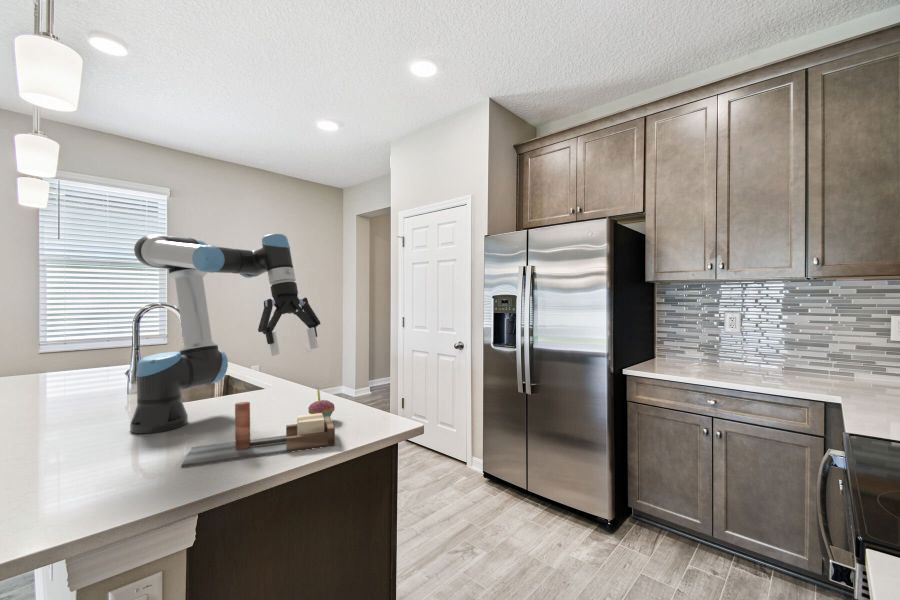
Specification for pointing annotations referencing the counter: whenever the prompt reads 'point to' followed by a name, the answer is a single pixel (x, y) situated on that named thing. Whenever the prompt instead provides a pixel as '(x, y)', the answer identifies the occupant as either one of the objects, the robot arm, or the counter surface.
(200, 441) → the counter surface
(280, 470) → the counter surface
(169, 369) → the robot arm
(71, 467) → the counter surface
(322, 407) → the cupcake
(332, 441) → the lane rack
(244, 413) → the rod with end block
